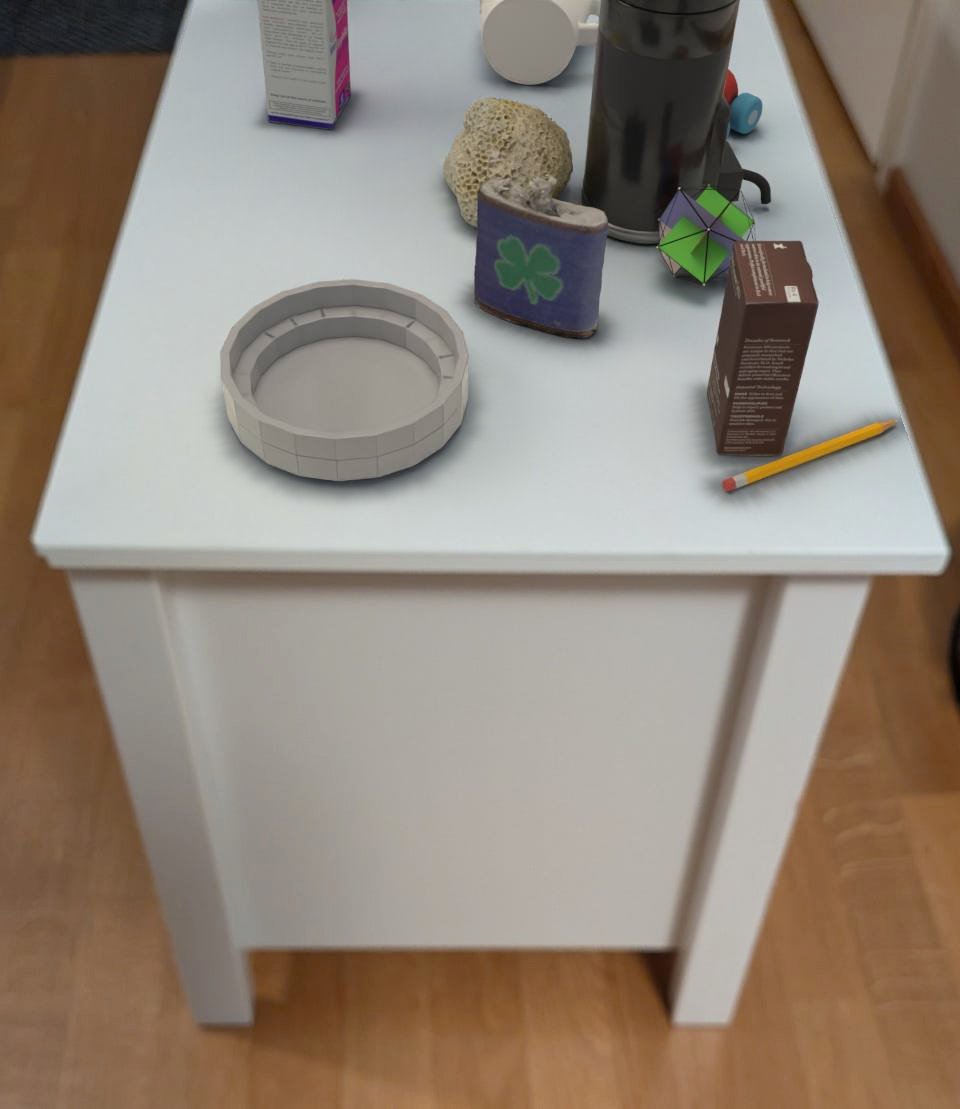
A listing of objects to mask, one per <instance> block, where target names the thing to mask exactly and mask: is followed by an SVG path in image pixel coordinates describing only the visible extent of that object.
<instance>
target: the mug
mask: <svg viewBox="0 0 960 1109" xmlns="http://www.w3.org/2000/svg"><path fill="white" fill-rule="evenodd" d="M599 11H600V0H479V15H480V18H481V19H480V20H481V21H480V23H481V28H480V30H481V31H480V33H481V34H480V35H481V46H482V47H481V48H482V51H483V54H484V56H485V58H486V61H487V62H488V63H489V66H490V67H492V69H493V70H494V71H495V72H496V73H497V74H498V75H500V76H501V77H503V78H504V79H506V80H507V81H510V82H513V83H516V84H520V85H525V86H533V85H540V84H544V83H546V82H549V81H551V80H553V79H555V78H556V77H558V76H559V75H560V74H561V73H563V72H564V71H565V69H566V68H567V67H568V65H569V64H570V62H571V60H572V58H573V56H574V53H575V51H576V49H577V47H578V46H579V47H580V46H583V47H585V46H587V47H589V46H596V44H597V33H598V22H587V21H588V19H589V16H590V15H592V16H596V17H599Z"/></svg>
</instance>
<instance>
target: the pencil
mask: <svg viewBox="0 0 960 1109" xmlns="http://www.w3.org/2000/svg"><path fill="white" fill-rule="evenodd" d="M898 422H900V420H899V419H894V420H885V421H877V422H875V423H872V424H869V425H867V426H864V427H861V428H858V429H856V430H853V431H851V432H848V433H845V434H843V435H840V436H837V437H835V438H832V439H829V440H826V441H823V442H821V443H819V444H816V445H813V446H811V447H808V448H806V449H803V450H800V451H798V452H795V453H792V454H789V455H787V456H784V457H782V458H778V459H775V460H774V461H771V462H768V463H765V464H762V465H760V466H757V467H755V468H751V469H750V470H747V471H745V472H741V473H739V474H736V475H734V476H730V477H728V478H725V479H724V480H722V481H721V483H722V488H723V489H724V490H725V492H727V493H728V492H730V491H733V490H736V489H738V488H741V487H743V486H746V485H749V484H751V483H755V482H757V481H759V480H762V479H765V478H768V477H770V476H773V475H775V474H778V473H780V472H784V471H786V470H789V469H791V468H795V467H797V466H799V465H802V464H805V463H807V462H810V461H813V460H815V459H817V458H821V457H823V456H826V455H828V454H831V453H834V452H836V451H839V450H841V449H844V448H846V447H849V446H852V445H854V444H858V443H860V442H863V441H865V440H868V439H871V438H873V437H875V436H879V435H880V434H881V433H882V434H883V432H885V431H887V430H888V429H889V428H891V427H893V426H894V425H896V424H897V423H898Z"/></svg>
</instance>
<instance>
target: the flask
mask: <svg viewBox="0 0 960 1109" xmlns="http://www.w3.org/2000/svg"><path fill="white" fill-rule="evenodd" d="M545 176H546V177H547V178H548V179H549V180H548V181H546V180H544V179H541V178H533V181H531V182H529V187H530V188H529V189H524V188H523V187H521V186H520V185H516V184H515V183H514V182H513V181H511V180H512V179H510V178H507V179H505V180H504V179H490V180H487V181H484V182H483V183H482V185H481V186H480V188H479V191H478V198H477V202H478V207H477V228H476V243H475V258H474V272H473V276H474V277H473V278H474V279H473V285H474V288H473V289H474V291H473V292H474V303H475V304H476V305H477V307H478V308H480V309H482V310H483V311H486V312H487V313H488V314H489V313H490V314H492V315H494V316H496V317H498V318H500V319H503V320H505V321H508V322H510V323H514V324H518V325H520V326H526V327H529V328H532V329H535V330H539V331H541V332H545V333H550V334H552V335H559V336H561V337H565V338H577V339H586V338H589V337H591V336H592V335H593V334H594V331H597V330H596V329H597V328H598V323H599V311H600V298H601V292H602V285H603V284H602V283H603V269H604V262H605V255H606V254H605V253H606V245H607V238H608V235H607V234H608V230H609V225H608V218H607V216H606V213H605V212H604V211H601V210H599V209H596V208H593V207H586V206H582V205H580V204H574V203H572V202H568V201H565V200H559V199H557V198H556V199H553V198H551V194H552V189H551V187H552V186H554V185H556V184H557V180H556V179H555V178H553V177H552V176H551V175H545Z"/></svg>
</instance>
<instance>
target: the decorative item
mask: <svg viewBox="0 0 960 1109" xmlns="http://www.w3.org/2000/svg"><path fill="white" fill-rule="evenodd" d="M464 116H465V117H464V119H463V121H462V124H463V129H462V130H461V131H460V132H459V133H458V134H457V135H456V138H455V139H454V141H453V143H452V146H451V148H450V149H449V151H448V153H447V155H446V156H445V157H444V160H443V164H442V170H443V171H442V172H443V176H444V180H445V182H446V185H447V186H448V187H449V188H450V190H451V191H452V192H453V195H454V196H455V197H456V201H457V205H458V207H459V209H460V216H461V217H462V218H463V219H464V221H465V223H467V224H468V225H471V226H473V227H475V228H476V229H477V207H478V202H477V198H478V191H479V188H480V186H481V185H482V183H483V182H484V181H487V180H490V179H504V180H505V179H507V178H510V179H512V180H511V181H513V182H514V183H515V184H516V185H520V186H521V187H523V188H524V189H529V188H530V187H529V182H531V181H533V178H541V179H544V180H546V181H548V180H549V179H548V178H547V177H546V176H545V175H551V176H552V177H553V178H555V179H556V180H557V184H556V185H554V186H552V187H551V189H552V194H551V198H553V199H557V198H558V196H559V194H560V193H561V192H562V191H563V190H564V189H565V188H566V186H568V184H569V182H570V180H571V175H572V173H573V171H574V164H573V154H572V153H573V152H572V148H571V143H570V142H571V141H570V139H569V137H568V135H567V134H568V133H567V131H566V130H565V129H564V128H563V127H561V125H559V124H558V123H557V122H556V121H554V120H553V118H552V117H548V114H547V113H545V112H544V111H543V110H542V109H540V108H539V107H534V106H532V105H529V104H526V103H519V101H518V100H515V101H514V100H511V99H504V98H496V97H485V98H482V99H477V100H475V101H474V103H473V104H472V105H471V106H468V107H467V110H466V112H465V114H464Z"/></svg>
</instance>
